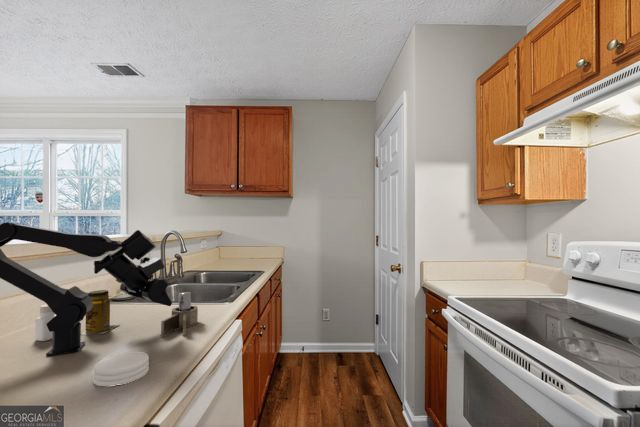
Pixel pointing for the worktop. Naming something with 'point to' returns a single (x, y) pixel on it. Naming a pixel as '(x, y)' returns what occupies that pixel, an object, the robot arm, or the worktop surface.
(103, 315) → the condiment
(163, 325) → the hinge
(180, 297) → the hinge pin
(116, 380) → the coaster
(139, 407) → the worktop surface
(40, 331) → the pepper shaker
